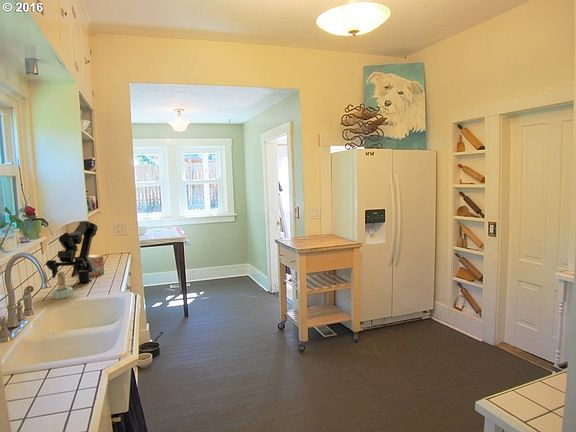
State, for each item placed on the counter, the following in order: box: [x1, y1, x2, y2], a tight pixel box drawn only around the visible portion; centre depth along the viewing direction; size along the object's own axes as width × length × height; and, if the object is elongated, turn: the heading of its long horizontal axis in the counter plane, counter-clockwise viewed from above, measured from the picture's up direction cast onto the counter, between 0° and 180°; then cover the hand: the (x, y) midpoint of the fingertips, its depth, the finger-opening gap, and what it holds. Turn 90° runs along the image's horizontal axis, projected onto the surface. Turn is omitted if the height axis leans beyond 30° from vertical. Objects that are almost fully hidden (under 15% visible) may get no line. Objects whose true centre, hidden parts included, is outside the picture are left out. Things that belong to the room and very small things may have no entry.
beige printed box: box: [88, 254, 105, 277], centre depth 254 cm, size 21×6×12 cm, turn 60°
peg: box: [56, 271, 67, 291], centre depth 200 cm, size 3×3×12 cm
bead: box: [51, 286, 74, 300], centre depth 200 cm, size 9×9×4 cm
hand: (62, 277), depth 201 cm, fingers open, 9 cm apart
